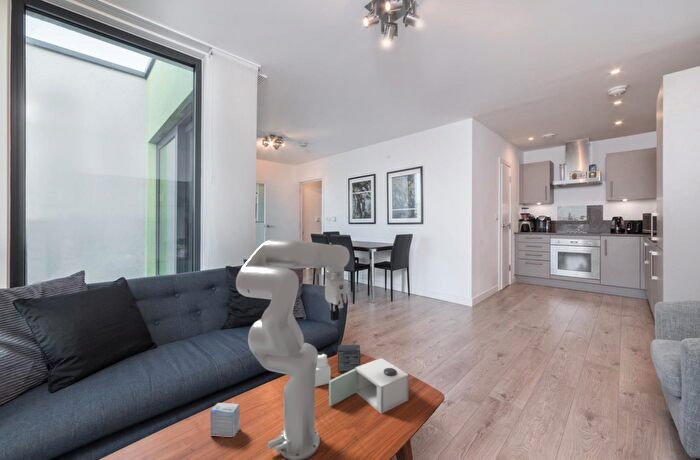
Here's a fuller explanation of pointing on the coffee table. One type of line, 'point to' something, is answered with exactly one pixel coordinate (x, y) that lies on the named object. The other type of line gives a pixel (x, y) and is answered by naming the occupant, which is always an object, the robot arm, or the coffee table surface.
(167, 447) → the coffee table surface
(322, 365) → the white square bottle
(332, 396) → the side door
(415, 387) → the coffee table surface
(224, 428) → the medicine box
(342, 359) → the small box
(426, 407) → the coffee table surface
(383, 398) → the white cabinet
